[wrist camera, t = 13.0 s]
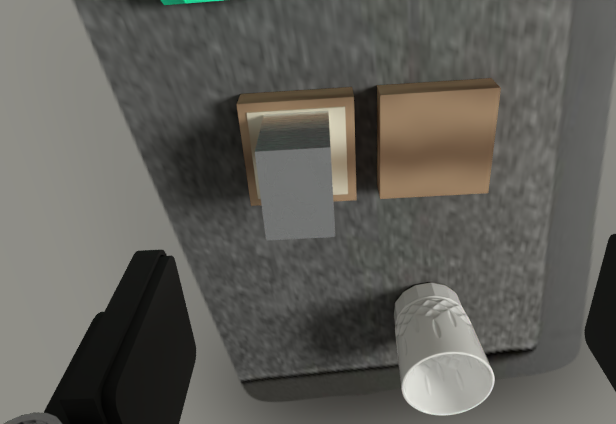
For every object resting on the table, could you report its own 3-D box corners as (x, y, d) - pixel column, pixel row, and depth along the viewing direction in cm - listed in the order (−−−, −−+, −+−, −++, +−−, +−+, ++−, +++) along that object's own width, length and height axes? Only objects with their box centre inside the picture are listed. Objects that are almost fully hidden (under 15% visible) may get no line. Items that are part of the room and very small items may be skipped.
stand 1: (240, 94, 42) (236, 104, 40) (351, 87, 42) (354, 97, 40) (253, 191, 47) (250, 206, 45) (354, 186, 47) (356, 200, 44)
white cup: (414, 347, 57) (432, 427, 48) (372, 302, 53) (383, 379, 45) (479, 312, 54) (511, 391, 45) (439, 263, 51) (465, 338, 42)
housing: (263, 114, 41) (254, 151, 35) (328, 110, 40) (330, 147, 34) (273, 194, 44) (266, 240, 38) (332, 190, 44) (335, 236, 38)
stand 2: (377, 85, 42) (380, 95, 40) (491, 78, 42) (500, 87, 39) (377, 185, 47) (380, 198, 44) (480, 179, 46) (488, 193, 44)
